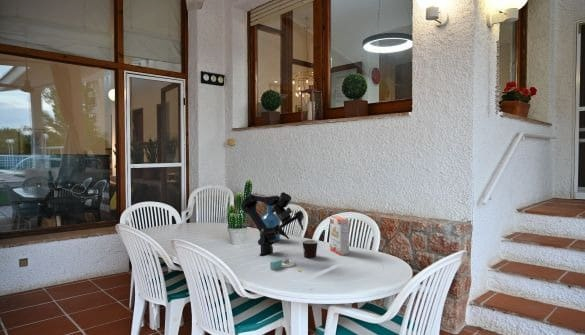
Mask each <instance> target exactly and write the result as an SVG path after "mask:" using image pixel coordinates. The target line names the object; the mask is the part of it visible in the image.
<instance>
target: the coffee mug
mask: <svg viewBox="0 0 585 335" xmlns="http://www.w3.org/2000/svg"><path fill="white" fill-rule="evenodd" d="M318 243H319V242H318V240H315V239H304V240H303V241H302V250H303V257H304V258H305V259H316V257H317V250H318Z"/></svg>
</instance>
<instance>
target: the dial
mask: <svg viewBox="0 0 585 335" xmlns="http://www.w3.org/2000/svg"><path fill="white" fill-rule="evenodd" d="M269 265H270V266H269V269H270V271H275V270H278V269H280V268H293V267H295V266H296V262H295V261H294V260H290V259H289V258H282V259H281V258H278V259H275V260H271V261H270V263H269Z"/></svg>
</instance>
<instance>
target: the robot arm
mask: <svg viewBox="0 0 585 335" xmlns="http://www.w3.org/2000/svg"><path fill="white" fill-rule="evenodd" d="M291 201H292V197H291V195H290V194H287V193H286V192H284V191H283V192H281V193H280V196H279V195H266V194H265V195H264V194H259V193H250V194H249V195H248V196H247V197H246V198H244V199H243V200H242V202H241V203H240V207H241V209H242V211H244V213H246V214H248V215H249V217H250V219H251V220H252V221H253V223H254V225H255V227H256V228H257V230H258V231H259V239H258V240H257V244H258V246H260V253H259V256H262V257H263V256H264V257H265V256H269V255H273V254H274V246H273V245H275V239H276V235H277V234H278V235H279V234H280V236H283V237H284V238H286V239H287V240H290V237H289V236H288V234H287V233H286V232H285V231H284V229H283V228H285V227H286V226H288V225H290V224H291V223H293V222H294V221H296V220H297V223H298V225H299V227H300V229H301V230H302V231H304V230H305V229H304V227H303V224H302V221H303V219H304V218H305V217H304V213H303V211H302V210H299V211H297V212H295V213H294V216H291V214H292V212H293V210H292V209H291V207H288V205H289V204H290V202H291ZM258 202H260V203H264V205H266V206H267V207H268V206H274V207H273V208H272V213H274V214H275V215H277V216H278V218H279V219H280V225H278V224H277V225H275V226H273V227H272V228H267V227H266V225H265V223H264V222H263V220H262V217H261V215H260V214H259V213H258V211H257V204H258Z"/></svg>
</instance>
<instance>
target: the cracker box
mask: <svg viewBox="0 0 585 335" xmlns="http://www.w3.org/2000/svg"><path fill="white" fill-rule="evenodd" d="M349 221H350V220H349V219H346V218H344V217H341V216H338V215H335V216H334V215H333V216H329V243H330V244H329V248H330V251H332V252H334V253H336V254H338V255H339V256H347V255H350V242H349V241H350V237H349V236H350V231H349V230H350V228H349V227H350V226H349V225H350V222H349Z"/></svg>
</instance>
